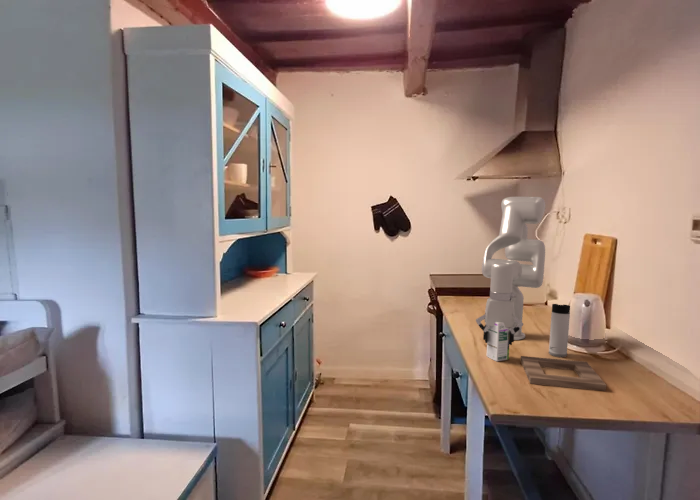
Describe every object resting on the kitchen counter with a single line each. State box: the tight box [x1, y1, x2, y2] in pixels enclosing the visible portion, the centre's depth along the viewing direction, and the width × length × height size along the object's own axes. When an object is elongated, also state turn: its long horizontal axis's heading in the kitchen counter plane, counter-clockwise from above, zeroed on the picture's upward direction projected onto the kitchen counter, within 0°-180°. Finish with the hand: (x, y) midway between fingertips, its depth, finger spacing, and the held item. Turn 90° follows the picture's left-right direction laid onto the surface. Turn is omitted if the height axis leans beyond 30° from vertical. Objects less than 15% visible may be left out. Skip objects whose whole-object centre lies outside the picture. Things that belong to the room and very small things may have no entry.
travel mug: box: [548, 303, 571, 358], centre depth 166 cm, size 6×7×20 cm
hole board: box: [520, 355, 607, 392], centre depth 147 cm, size 20×22×2 cm
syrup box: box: [486, 322, 510, 362], centre depth 161 cm, size 6×6×14 cm
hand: (498, 342), depth 161 cm, fingers closed on syrup box, 8 cm apart
